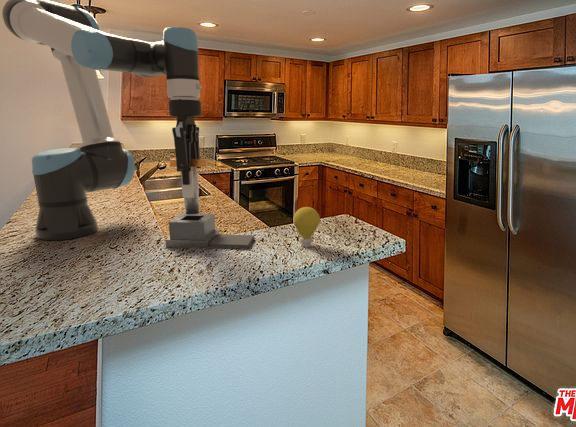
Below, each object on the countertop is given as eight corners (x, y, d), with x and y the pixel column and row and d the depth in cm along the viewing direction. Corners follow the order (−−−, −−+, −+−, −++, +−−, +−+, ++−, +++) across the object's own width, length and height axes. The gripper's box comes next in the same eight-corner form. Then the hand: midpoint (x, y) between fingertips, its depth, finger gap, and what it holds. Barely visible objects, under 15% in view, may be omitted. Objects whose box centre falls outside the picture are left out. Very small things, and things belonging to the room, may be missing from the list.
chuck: (166, 247, 92) (163, 222, 90) (181, 235, 102) (179, 212, 100) (208, 248, 91) (207, 223, 89) (219, 236, 101) (218, 213, 99)
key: (172, 214, 93) (168, 159, 89) (177, 211, 96) (173, 158, 93) (207, 214, 92) (204, 159, 89) (211, 211, 96) (208, 158, 92)
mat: (208, 247, 92) (208, 243, 91) (217, 237, 99) (217, 234, 99) (248, 248, 91) (247, 245, 90) (254, 238, 98) (254, 235, 98)
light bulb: (303, 251, 89) (303, 211, 86) (288, 244, 94) (288, 206, 92) (324, 246, 92) (325, 208, 90) (309, 239, 98) (309, 203, 95)
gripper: (189, 97, 79) (195, 202, 85) (209, 101, 95) (213, 189, 101) (155, 97, 80) (164, 202, 85) (180, 101, 96) (187, 189, 101)
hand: (191, 195), depth 93 cm, fingers closed on key, 4 cm apart
